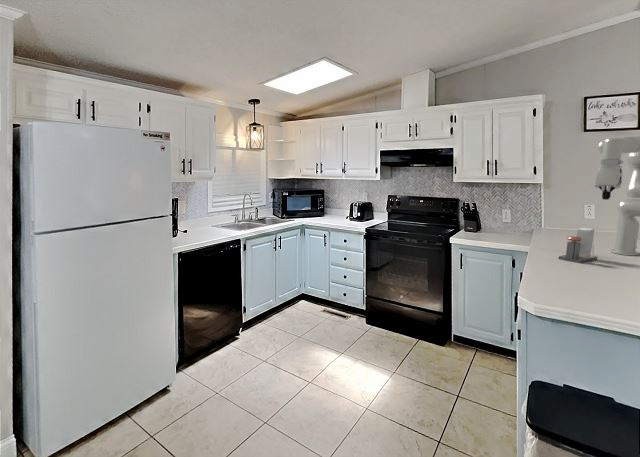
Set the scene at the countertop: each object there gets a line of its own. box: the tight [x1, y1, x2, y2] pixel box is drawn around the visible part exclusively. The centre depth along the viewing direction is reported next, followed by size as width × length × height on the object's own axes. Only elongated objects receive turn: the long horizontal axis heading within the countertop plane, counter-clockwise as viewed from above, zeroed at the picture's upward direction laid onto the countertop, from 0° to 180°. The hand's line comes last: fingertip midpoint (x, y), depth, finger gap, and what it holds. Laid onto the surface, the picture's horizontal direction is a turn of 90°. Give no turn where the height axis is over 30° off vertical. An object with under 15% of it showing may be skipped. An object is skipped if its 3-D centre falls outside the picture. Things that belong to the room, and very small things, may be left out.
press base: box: [558, 240, 598, 264], centre depth 195 cm, size 17×11×10 cm, turn 119°
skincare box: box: [575, 227, 595, 257], centre depth 197 cm, size 8×6×15 cm
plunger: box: [566, 235, 581, 243], centre depth 192 cm, size 6×6×10 cm
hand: (605, 199), depth 186 cm, fingers closed
